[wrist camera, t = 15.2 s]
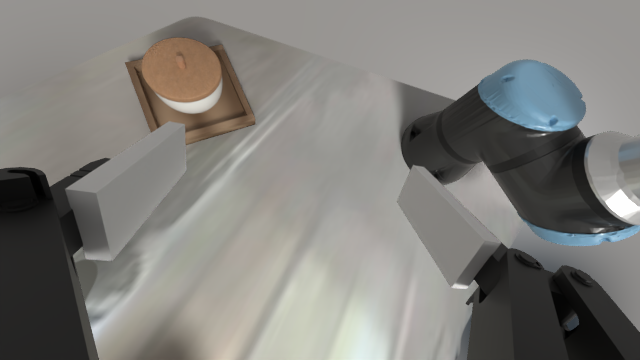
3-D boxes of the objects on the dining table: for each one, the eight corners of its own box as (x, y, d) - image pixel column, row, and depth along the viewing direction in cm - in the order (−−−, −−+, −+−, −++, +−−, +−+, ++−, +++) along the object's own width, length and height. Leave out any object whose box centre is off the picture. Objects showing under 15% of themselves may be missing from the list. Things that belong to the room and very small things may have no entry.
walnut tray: (223, 53, 48) (221, 44, 46) (255, 124, 46) (254, 118, 44) (131, 71, 43) (125, 62, 41) (161, 152, 41) (156, 147, 39)
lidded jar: (148, 109, 41) (119, 72, 33) (178, 61, 45) (159, 16, 36) (211, 133, 43) (199, 103, 34) (236, 85, 46) (231, 47, 38)
